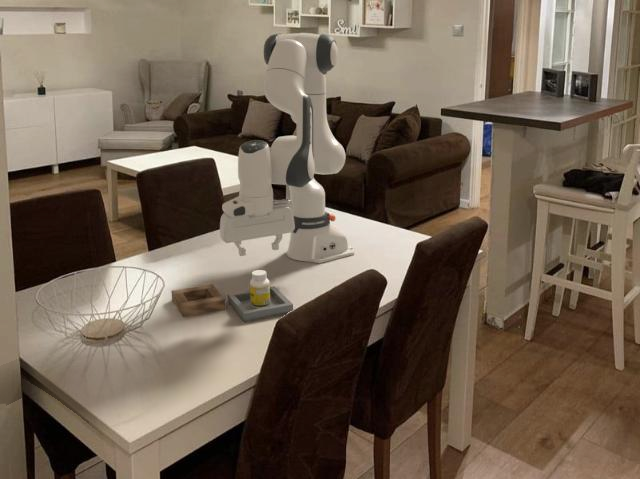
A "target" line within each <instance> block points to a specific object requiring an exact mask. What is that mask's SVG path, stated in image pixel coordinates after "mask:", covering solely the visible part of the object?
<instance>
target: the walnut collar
mask: <svg viewBox="0 0 640 479" xmlns="http://www.w3.org/2000/svg"><path fill="white" fill-rule="evenodd" d="M171 300H172V303H173V304H174V306H175V307H176V309H177V310H178V312H179V313H180V315H181V316H182V318H184V317H190V316H192V317H193V316H195V315H196V316H197V315H202V314H209V313H213V312H218V311H223V310H226V298H225V297H224V296H223V295H222V294H221V292H220V291H219V290H218V288H217V287H216V286H215V284H213V283H210V284H203V285H199V286H193V287H192V286H191V287H186V288H180V289H173V290H171Z"/></svg>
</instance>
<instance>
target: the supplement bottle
mask: <svg viewBox="0 0 640 479" xmlns="http://www.w3.org/2000/svg"><path fill="white" fill-rule="evenodd" d="M267 275H268V274H267V271H266V270H264V269H263V270H262V269H257V270H253V271H252V272H251V280H250V281H249V291H250V298H251V306H252V307H253V308H256V309H258V308H263V307H269V306H270V287H271V286H270V280H269V278H268V277H267Z"/></svg>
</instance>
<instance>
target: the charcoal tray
mask: <svg viewBox="0 0 640 479" xmlns="http://www.w3.org/2000/svg"><path fill="white" fill-rule="evenodd" d="M227 303H228V304H229V305H230V307H231V308H232V309H233V311H234V312H235V313H236V314H237V315H238V317H239V318H240V319H241V320H242V321H243V322H244V323H248V322H253V321H257V320H263V319H268V318H273V317H278V316H284V315H288V314H287V313H288V312H290V311H292V310H293V311H294V303H292V301H290V300H289V299H288V297H287V296H286V295H285V294H283V293H282V291H280V290H279V289H278V288H277V287H276V286H275V285H273V286H270V306H269V307H263V308H258V309H256V308H253V307H252V306H251V298H250V290H246V291H239V292H234V293H233V292H232V293H228V294H227ZM283 314H284V315H283Z"/></svg>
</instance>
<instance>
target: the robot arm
mask: <svg viewBox="0 0 640 479" xmlns="http://www.w3.org/2000/svg"><path fill="white" fill-rule="evenodd" d="M338 56H339V51H338V44H337V41H336V40H335V39H334V37H333V36H331V35H329V34H323V33H321V34H317V33H311V32H310V33H309V32H300V33H296V32H295V33H283V34H282V33H274V34H271V35H269V37H268V38H267V39H266V40H265V42H264V45H263V58H264V62H265V64H266V65H267V66H266V71H265V75H264V79H263V80H264V81H263V94H264V96H265V98H266V99H267V101H268V102H269V103H270V104H271V105H272V106H273V107H275V108H276V109H277V110H279V111H281V112H284V113H286V114H288V115H290V119H292V120H291V121H292V122H294V123H295V124H296V135H284V136H283V135H282V136H278V137H277V138H275V140H274V141H273V142H272V144H271V147H270V146H269V144H268V143H267V141H264V140H259V139H254V140H249V141H245V142H244V143H242V144H241V145H240V147H239V148H238V149H239V151H238V157H237V158H238V159H237V176H238V177H237V178H238V180H239V184H240V185H239V186H240V187H239V190H238V191H239V192H238V193H239V194H238V196H236V197H234V198H232V199H229V200H228V201H226V202H224V203H222V206H221V207H222V208H221V209H222V211H223V213H222V215H221V217H220V221H219V236H220V238H221V240H222V241H223V243H226V244H230V243H233V244H234V245H235V246H236V248H237V250H238V255H239V256H240V257H242V256H243V257H244V256H246V255H247V253H246V252H247V250H246V249H245V247H241V245H242V241H248V240H254V239H255V240H256V239H260V238H266V237H272V236H275V237H276V238H275V239H274V242H271V249H272V250H273V251H278V250H279V249H280V243H281V241H282V240H283V234H284V235H285V234H290V235H289V236H290V237H289V243H288V248H287V252H286V255H287V257H288V258H290V259H292V260H295V261H298V262H309V263H314V264H321V263H322V264H323V263H326V262H329V261H333V260H337V259H341V258H344V257H348V256H353V255H355V252H356V251H355V248H354V246H352V245H351V244H350V243H348V238H347V235H346V234H345V232H344V231H343V230H342V229H341V228H339V227H337V226H336V225H334V224H333V222H336V220H337V217H336V216H335V215H334V214H331V213H329V212H327V211H326V192H325V189H324V187H323V186H322V184H320V183H319V182H318V181H317V180H316V179H315V177H314V175H316V174H317V175H333V174H335V175H336V174H338V173H339V172H340V171H342V169H343V167H344V165H346V164H345V163H346V158H347V156H346V152H345V149H344V147H343V145H342V144H341V143H340V142H339V141H338V140H337V139H336V138H335V136H334V135H333V133H332V130H331V129H330V125H329V122H328V116H327V79H326V78H327V77H326V75H327V74H328V72H329V71H332V69H333V68H334V67H335V66H336V63H337V60H338ZM272 184H273V185H283V186H288V190H289V197H290V200H289V199H288V198H283V199H275V200H274V192H273V191H274V190H273V187H272Z"/></svg>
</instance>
